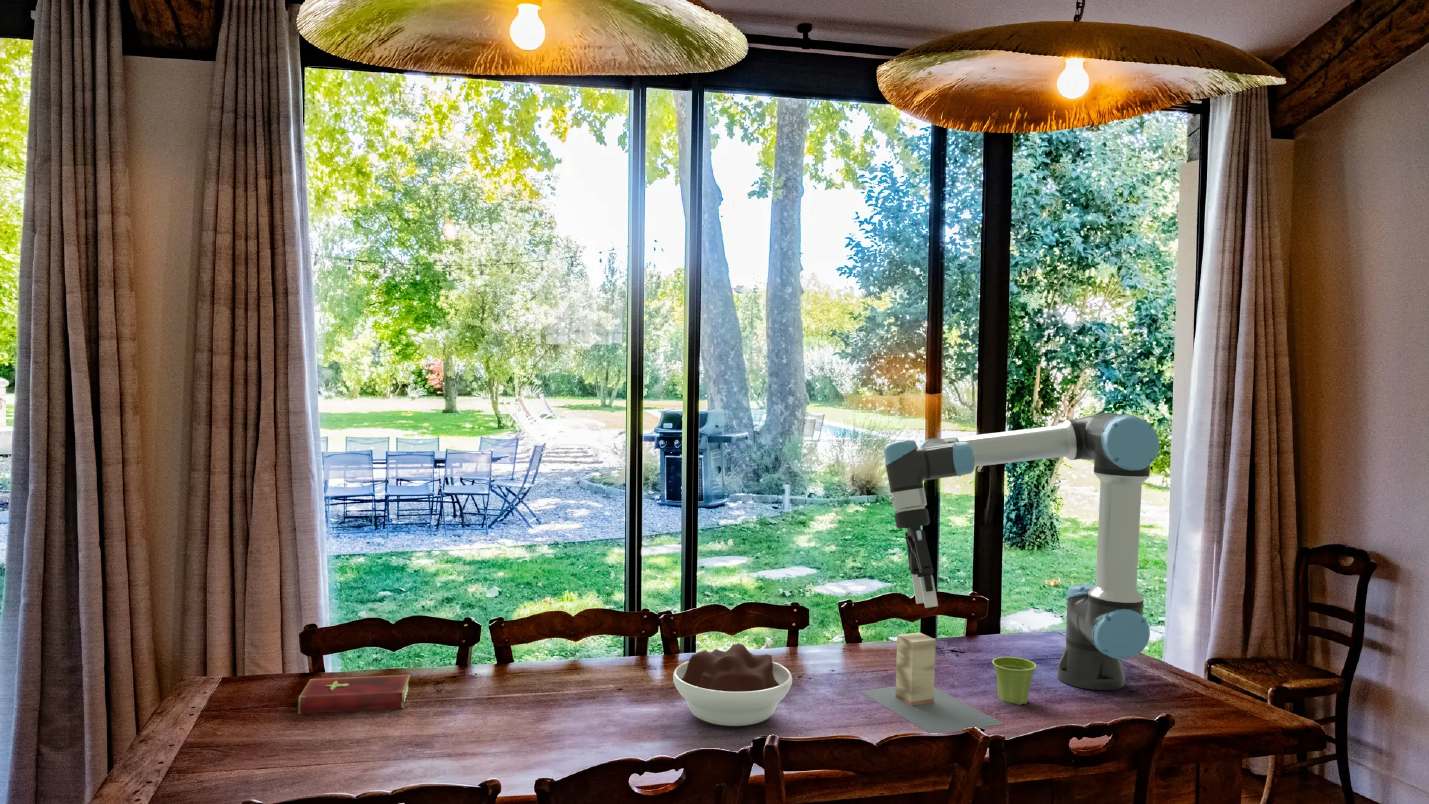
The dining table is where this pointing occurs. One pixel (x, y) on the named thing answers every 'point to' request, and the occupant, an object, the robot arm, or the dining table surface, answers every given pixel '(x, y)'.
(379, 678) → the hardcover book
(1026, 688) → the plant pot
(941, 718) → the rubber mat
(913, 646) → the birch block
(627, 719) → the dining table surface
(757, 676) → the chocolate pudding bowl
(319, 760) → the dining table surface
